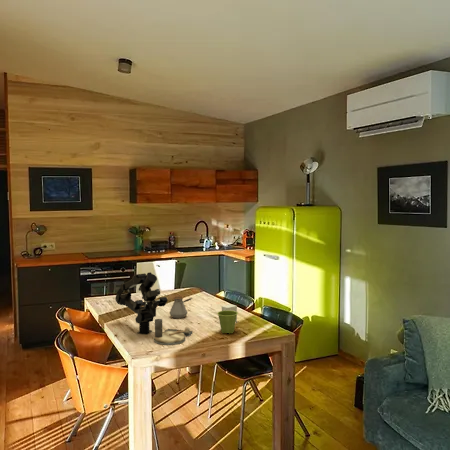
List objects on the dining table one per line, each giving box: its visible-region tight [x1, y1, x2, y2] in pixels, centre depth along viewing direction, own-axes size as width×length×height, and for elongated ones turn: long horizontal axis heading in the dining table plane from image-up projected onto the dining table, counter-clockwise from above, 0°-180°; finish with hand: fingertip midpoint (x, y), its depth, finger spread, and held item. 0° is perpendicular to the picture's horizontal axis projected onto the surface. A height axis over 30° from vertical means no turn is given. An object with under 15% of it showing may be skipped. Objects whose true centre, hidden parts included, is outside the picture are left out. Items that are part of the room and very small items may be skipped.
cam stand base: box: [153, 328, 193, 346], centre depth 255 cm, size 23×17×2 cm
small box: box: [221, 304, 238, 323], centre depth 287 cm, size 8×6×10 cm
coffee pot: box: [169, 296, 193, 319], centre depth 296 cm, size 21×12×15 cm, turn 38°
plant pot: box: [216, 310, 239, 334], centre depth 267 cm, size 12×12×11 cm
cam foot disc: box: [154, 318, 191, 343], centre depth 254 cm, size 21×16×10 cm
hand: (155, 316), depth 253 cm, fingers closed
